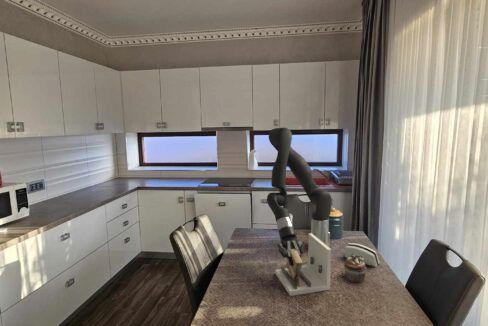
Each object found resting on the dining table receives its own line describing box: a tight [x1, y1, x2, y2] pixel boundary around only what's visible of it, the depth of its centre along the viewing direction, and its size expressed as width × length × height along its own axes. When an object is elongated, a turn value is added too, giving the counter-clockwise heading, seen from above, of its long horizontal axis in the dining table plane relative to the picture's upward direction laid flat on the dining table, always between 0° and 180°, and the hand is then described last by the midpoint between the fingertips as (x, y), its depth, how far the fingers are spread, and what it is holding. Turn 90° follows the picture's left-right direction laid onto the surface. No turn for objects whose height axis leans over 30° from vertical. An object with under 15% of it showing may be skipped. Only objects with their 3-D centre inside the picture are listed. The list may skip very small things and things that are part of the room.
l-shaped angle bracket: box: [275, 232, 332, 297], centre depth 130 cm, size 18×18×18 cm
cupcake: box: [344, 254, 368, 283], centre depth 133 cm, size 10×10×10 cm
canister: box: [329, 207, 345, 240], centre depth 180 cm, size 13×13×18 cm
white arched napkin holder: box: [344, 242, 381, 268], centre depth 148 cm, size 17×5×10 cm, turn 45°
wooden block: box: [285, 249, 303, 279], centre depth 130 cm, size 3×9×10 cm, turn 14°
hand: (296, 265), depth 128 cm, fingers closed on wooden block, 3 cm apart
